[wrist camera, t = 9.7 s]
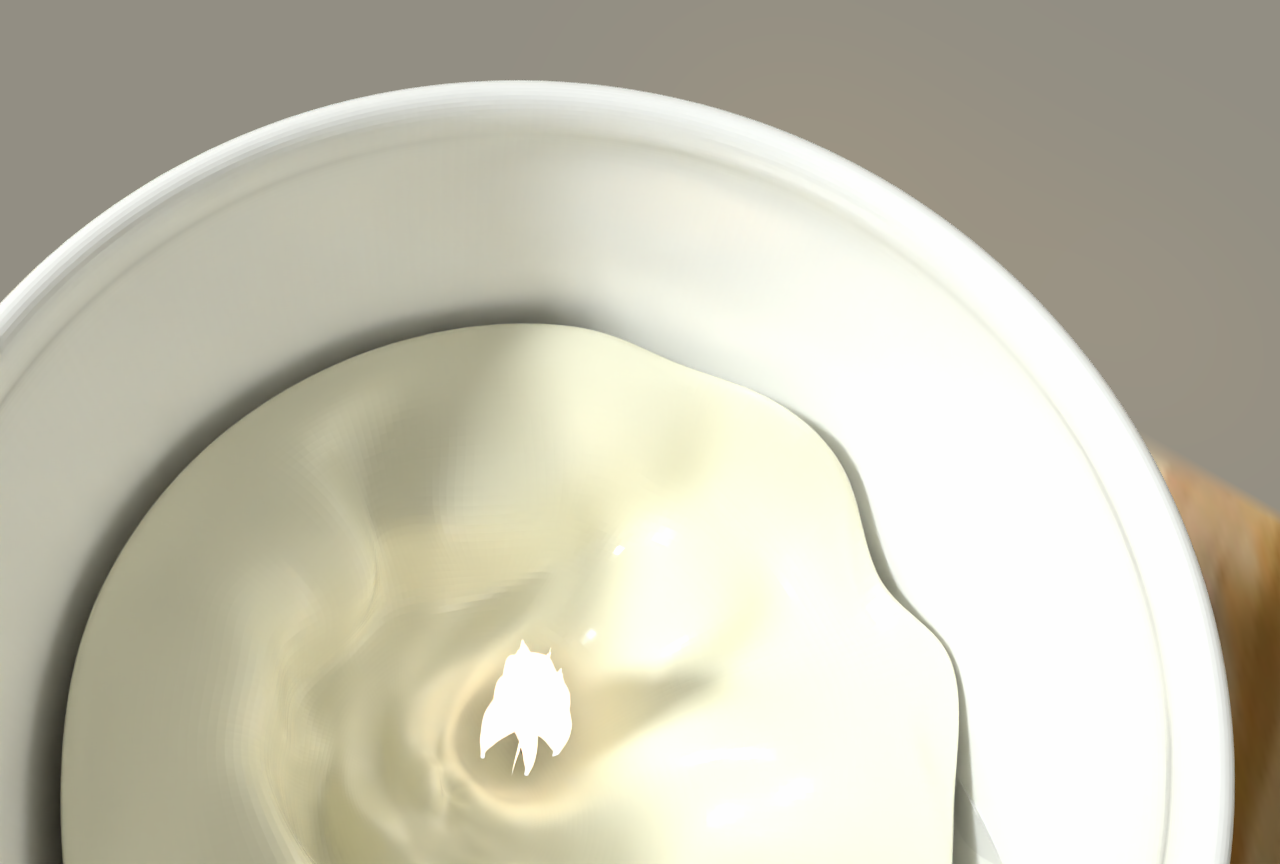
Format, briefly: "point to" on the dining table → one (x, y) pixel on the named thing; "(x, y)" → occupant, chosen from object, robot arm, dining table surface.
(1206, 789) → the candle holder
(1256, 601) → the dining table surface
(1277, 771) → the dining table surface
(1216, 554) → the dining table surface
